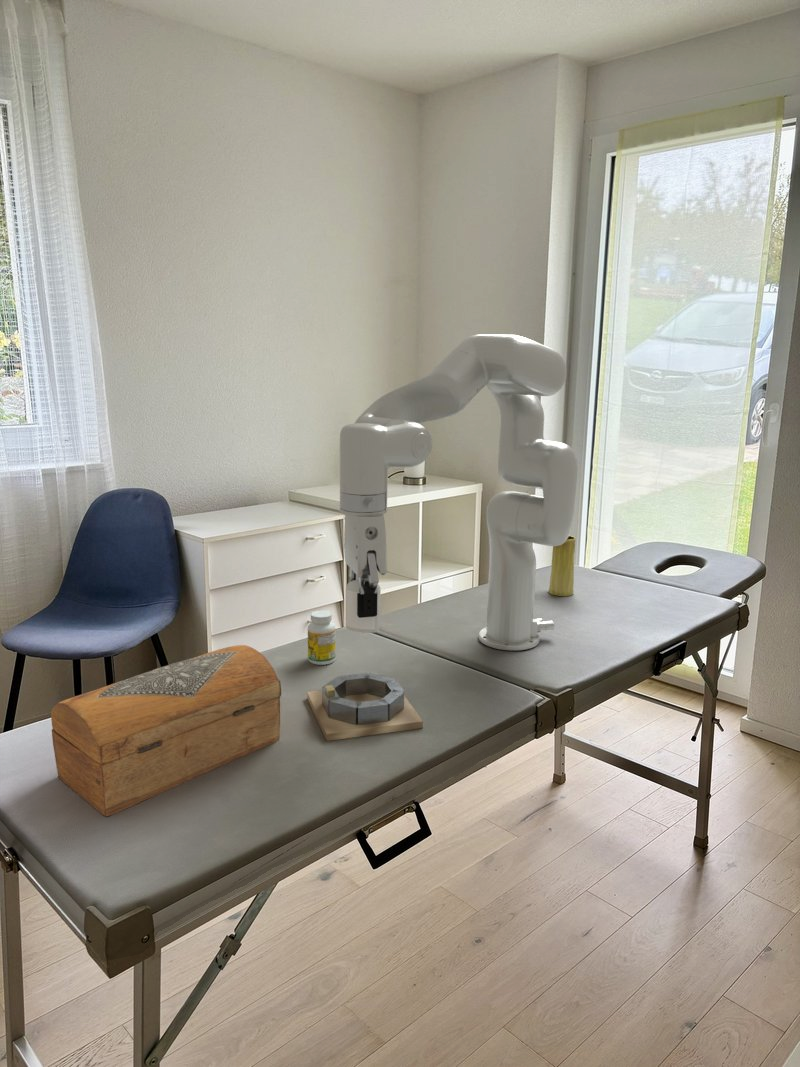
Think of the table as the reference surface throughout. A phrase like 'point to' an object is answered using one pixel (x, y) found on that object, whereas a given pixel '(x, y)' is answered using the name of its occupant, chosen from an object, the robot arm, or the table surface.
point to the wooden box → (165, 726)
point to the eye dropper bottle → (351, 610)
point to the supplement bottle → (321, 638)
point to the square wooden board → (343, 730)
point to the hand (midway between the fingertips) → (362, 610)
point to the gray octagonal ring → (362, 710)
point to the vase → (563, 568)
